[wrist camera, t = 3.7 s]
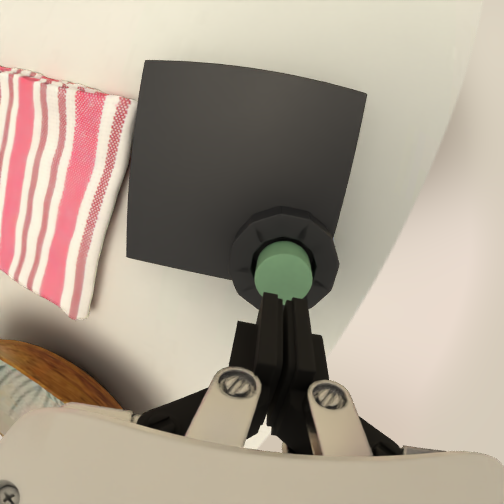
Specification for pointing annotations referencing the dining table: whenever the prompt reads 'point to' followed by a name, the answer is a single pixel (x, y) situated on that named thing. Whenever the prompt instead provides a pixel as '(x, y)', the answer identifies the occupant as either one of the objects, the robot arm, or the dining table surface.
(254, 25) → the dining table surface
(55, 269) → the dish towel
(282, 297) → the button
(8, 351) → the bowl
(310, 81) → the scale
